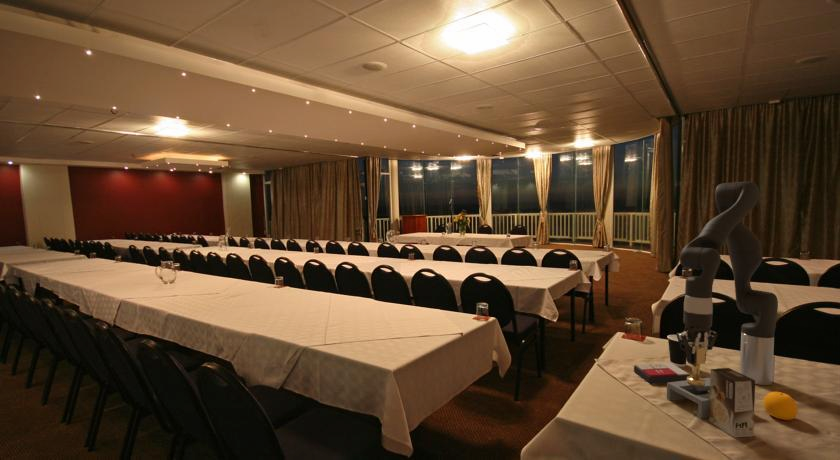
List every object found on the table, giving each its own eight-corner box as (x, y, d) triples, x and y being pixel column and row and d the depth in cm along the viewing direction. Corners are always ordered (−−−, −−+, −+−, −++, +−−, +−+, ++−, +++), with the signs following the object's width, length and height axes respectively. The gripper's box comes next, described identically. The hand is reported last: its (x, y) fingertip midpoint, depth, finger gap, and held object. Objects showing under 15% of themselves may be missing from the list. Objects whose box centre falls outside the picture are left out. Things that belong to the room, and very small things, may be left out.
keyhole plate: (710, 392, 138) (711, 377, 138) (749, 411, 126) (749, 394, 125) (666, 398, 134) (667, 382, 134) (701, 418, 122) (701, 400, 121)
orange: (760, 408, 128) (761, 385, 128) (793, 414, 124) (794, 390, 124) (766, 419, 121) (767, 395, 121) (801, 426, 117) (802, 401, 117)
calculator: (633, 363, 156) (672, 361, 156) (633, 374, 157) (672, 372, 156) (649, 375, 145) (690, 373, 145) (649, 386, 146) (691, 384, 145)
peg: (695, 379, 132) (696, 343, 131) (708, 386, 127) (709, 348, 126) (682, 381, 130) (684, 344, 130) (696, 387, 126) (697, 350, 125)
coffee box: (755, 436, 112) (757, 380, 111) (733, 438, 111) (735, 381, 111) (727, 419, 121) (729, 367, 120) (707, 420, 121) (709, 368, 120)
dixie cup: (661, 361, 167) (662, 335, 166) (678, 360, 168) (679, 334, 167) (676, 369, 159) (677, 341, 158) (694, 367, 160) (695, 340, 159)
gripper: (705, 306, 133) (703, 357, 133) (669, 308, 130) (667, 361, 130) (727, 311, 125) (725, 366, 126) (689, 314, 122) (687, 370, 123)
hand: (696, 363), depth 128 cm, fingers closed on peg, 3 cm apart
